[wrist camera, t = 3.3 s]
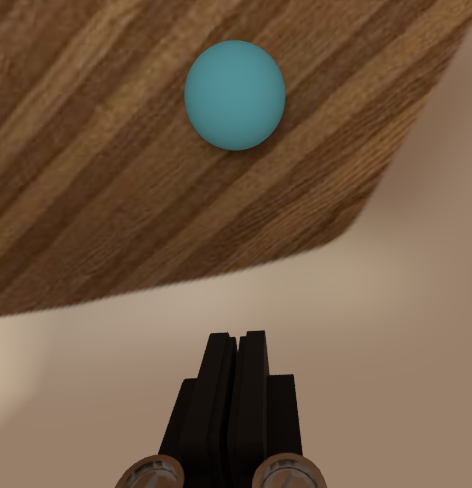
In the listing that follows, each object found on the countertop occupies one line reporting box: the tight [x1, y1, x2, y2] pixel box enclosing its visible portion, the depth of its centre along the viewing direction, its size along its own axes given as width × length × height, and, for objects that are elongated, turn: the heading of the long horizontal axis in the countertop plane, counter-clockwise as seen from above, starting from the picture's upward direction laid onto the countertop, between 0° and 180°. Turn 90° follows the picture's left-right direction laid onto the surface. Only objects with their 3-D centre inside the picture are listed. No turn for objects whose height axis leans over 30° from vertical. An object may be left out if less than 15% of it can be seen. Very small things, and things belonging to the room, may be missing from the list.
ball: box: [184, 40, 285, 150], centre depth 20 cm, size 6×6×6 cm
